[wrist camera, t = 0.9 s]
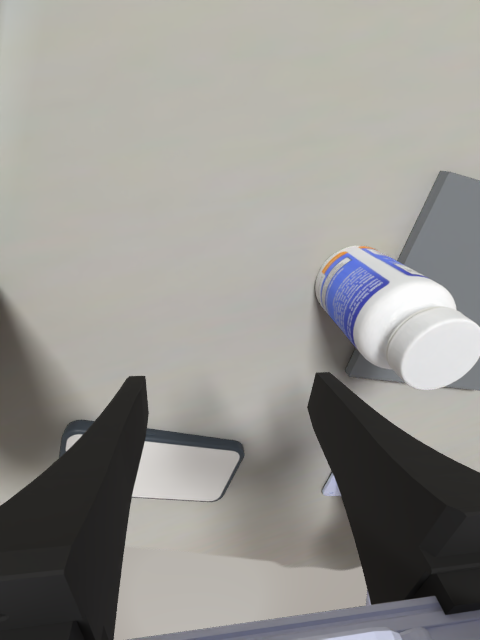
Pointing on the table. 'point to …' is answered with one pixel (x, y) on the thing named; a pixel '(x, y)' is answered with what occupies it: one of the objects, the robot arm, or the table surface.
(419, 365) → the pill bottle
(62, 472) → the robot arm
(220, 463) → the smartphone
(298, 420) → the table surface
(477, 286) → the rubber mat
